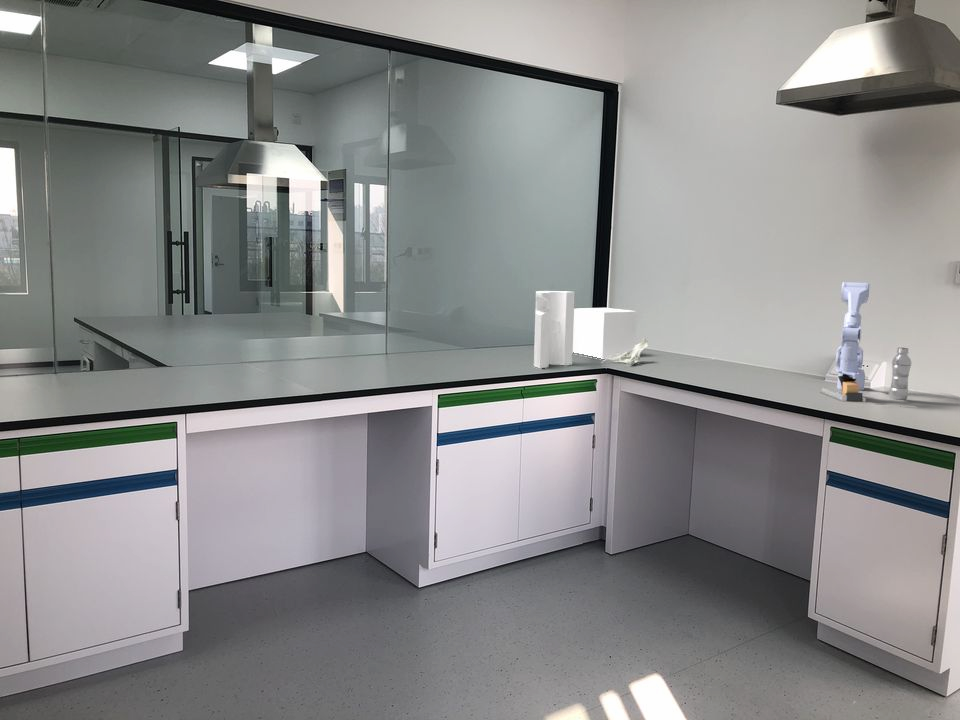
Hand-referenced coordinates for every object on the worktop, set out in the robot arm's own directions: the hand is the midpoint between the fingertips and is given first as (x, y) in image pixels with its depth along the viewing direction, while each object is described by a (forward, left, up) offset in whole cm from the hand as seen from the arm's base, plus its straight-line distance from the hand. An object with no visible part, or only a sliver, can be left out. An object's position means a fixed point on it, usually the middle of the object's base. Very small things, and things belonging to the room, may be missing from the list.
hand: (845, 394), depth 288 cm
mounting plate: (0, -2, -2) cm, 3 cm away
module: (0, +3, -1) cm, 3 cm away
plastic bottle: (-21, -1, -2) cm, 21 cm away
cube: (+73, -115, -3) cm, 137 cm away
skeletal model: (+65, -86, -2) cm, 108 cm away
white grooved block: (+105, -74, -2) cm, 129 cm away
